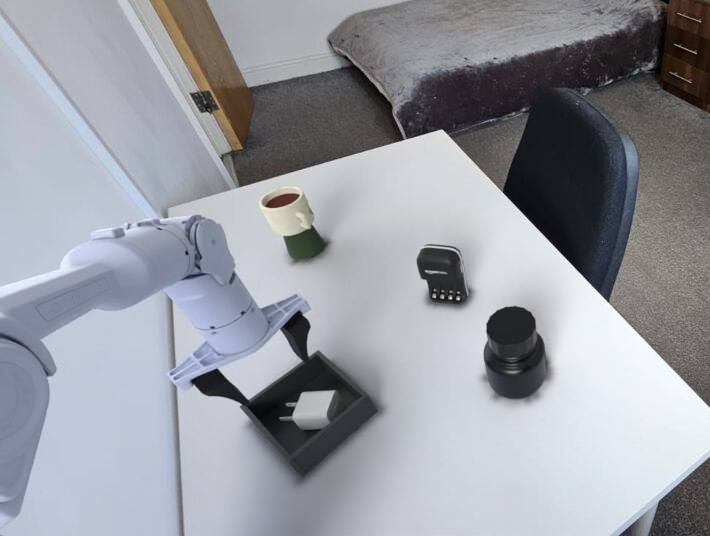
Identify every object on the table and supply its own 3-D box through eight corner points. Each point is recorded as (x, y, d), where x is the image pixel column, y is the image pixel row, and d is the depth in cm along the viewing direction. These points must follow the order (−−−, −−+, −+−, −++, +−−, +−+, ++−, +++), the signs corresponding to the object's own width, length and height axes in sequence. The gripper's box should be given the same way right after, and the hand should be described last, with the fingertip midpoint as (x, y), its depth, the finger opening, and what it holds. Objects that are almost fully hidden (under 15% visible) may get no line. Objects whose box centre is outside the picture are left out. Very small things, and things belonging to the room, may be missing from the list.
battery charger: (425, 304, 82) (410, 257, 74) (433, 288, 85) (419, 241, 77) (464, 308, 81) (453, 261, 74) (470, 292, 84) (461, 245, 77)
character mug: (342, 250, 92) (318, 197, 83) (309, 272, 87) (280, 218, 78) (307, 231, 96) (281, 178, 87) (274, 251, 91) (243, 197, 83)
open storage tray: (302, 477, 60) (288, 462, 57) (254, 423, 65) (239, 406, 62) (377, 411, 67) (368, 394, 64) (328, 367, 72) (318, 349, 69)
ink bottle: (558, 360, 74) (556, 311, 66) (534, 409, 67) (529, 361, 60) (502, 342, 76) (494, 292, 68) (475, 388, 70) (462, 339, 62)
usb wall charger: (335, 430, 64) (325, 415, 61) (283, 433, 64) (270, 418, 61) (344, 403, 67) (335, 388, 64) (294, 405, 67) (283, 390, 64)
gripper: (269, 256, 57) (310, 326, 66) (129, 334, 48) (198, 402, 57) (301, 282, 54) (339, 351, 63) (157, 370, 45) (225, 436, 54)
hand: (274, 377), depth 60 cm, fingers open, 7 cm apart
